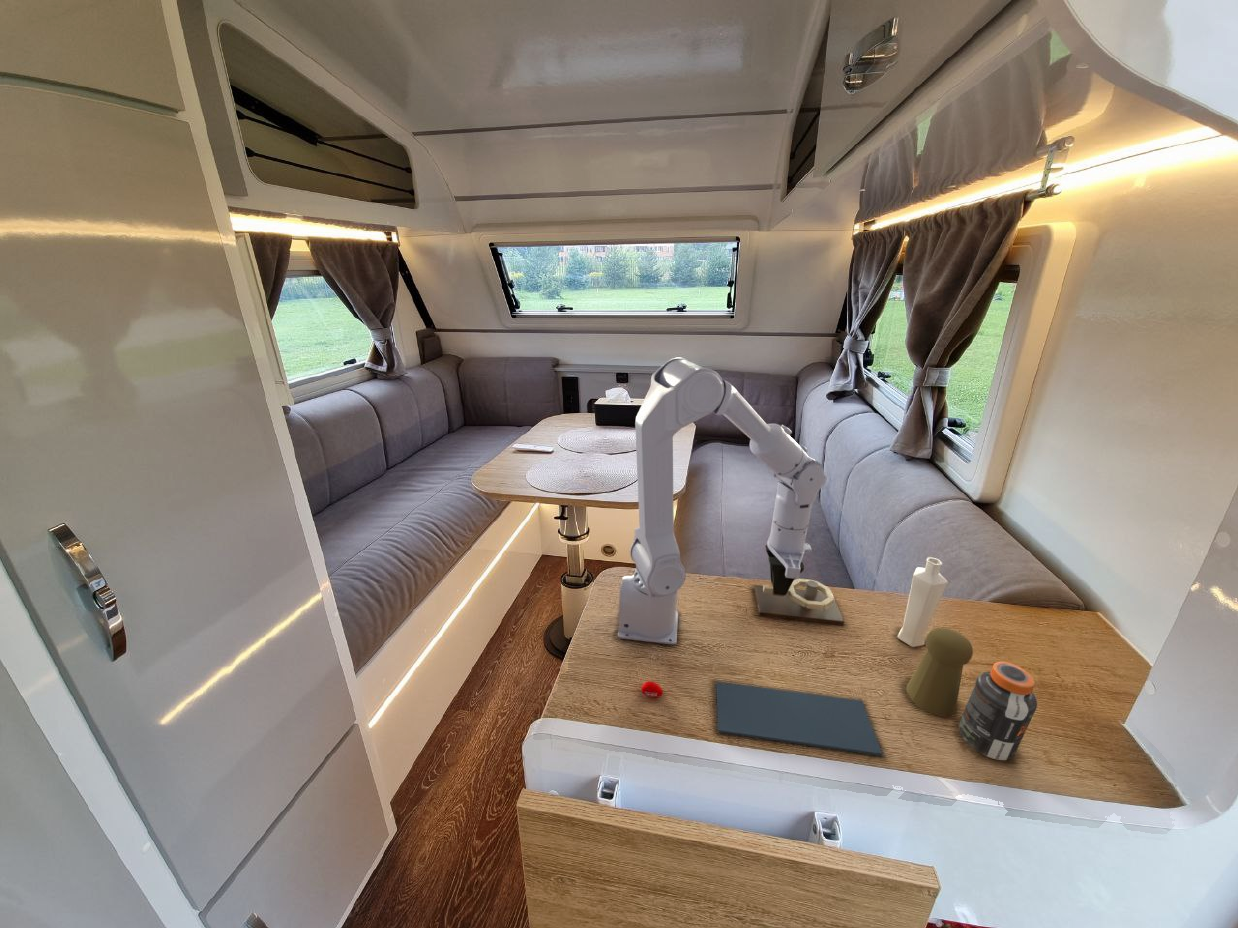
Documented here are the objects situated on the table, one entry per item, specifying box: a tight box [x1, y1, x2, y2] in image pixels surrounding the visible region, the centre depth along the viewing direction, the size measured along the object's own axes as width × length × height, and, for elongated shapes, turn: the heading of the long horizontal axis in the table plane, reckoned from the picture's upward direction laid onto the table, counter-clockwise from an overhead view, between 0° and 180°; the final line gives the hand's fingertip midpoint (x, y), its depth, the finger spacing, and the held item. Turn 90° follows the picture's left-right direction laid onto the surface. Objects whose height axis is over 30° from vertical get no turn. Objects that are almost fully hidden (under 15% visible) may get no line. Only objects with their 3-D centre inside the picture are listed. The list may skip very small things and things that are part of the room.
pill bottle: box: [958, 661, 1038, 761], centre depth 59 cm, size 6×6×11 cm
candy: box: [641, 681, 664, 698], centre depth 66 cm, size 3×2×2 cm, turn 82°
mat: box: [715, 681, 884, 757], centre depth 63 cm, size 20×8×1 cm, turn 81°
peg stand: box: [753, 579, 845, 626], centre depth 84 cm, size 14×8×5 cm, turn 81°
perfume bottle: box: [897, 556, 949, 648], centre depth 75 cm, size 5×4×15 cm
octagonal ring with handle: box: [763, 578, 835, 610], centre depth 84 cm, size 12×7×3 cm, turn 81°
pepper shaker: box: [905, 627, 974, 717], centre depth 65 cm, size 6×6×11 cm
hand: (778, 588), depth 84 cm, fingers closed on octagonal ring with handle, 2 cm apart
